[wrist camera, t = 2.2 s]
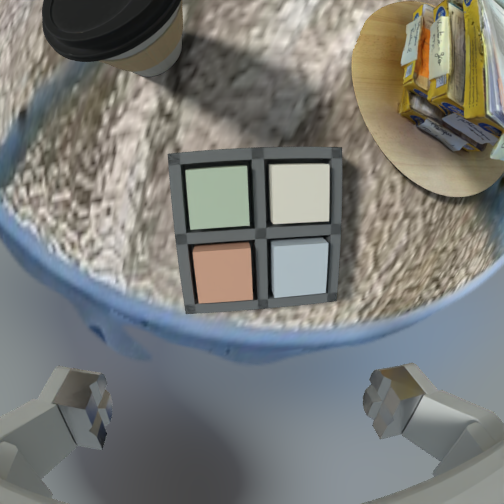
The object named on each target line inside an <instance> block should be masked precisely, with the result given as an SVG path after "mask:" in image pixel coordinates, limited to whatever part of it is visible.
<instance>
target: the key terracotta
mask: <svg viewBox="0 0 504 504" xmlns="http://www.w3.org/2000/svg"><path fill="white" fill-rule="evenodd" d="M193 260H194V268H195V277H196V285H197V293H198V301H199V303H215V302H230V301H243V300H253V289H252V267H251V248H250V244H249V241H247V242H232V243H218V244H204V245H194V249H193Z"/></svg>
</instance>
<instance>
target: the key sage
mask: <svg viewBox="0 0 504 504" xmlns="http://www.w3.org/2000/svg"><path fill="white" fill-rule="evenodd" d="M185 171H186V185H187V198H188V209H189V220H190V230H194V229H207V228H221V227H236V226H250V222H249V199H248V177H247V166H246V165H235V166H219V167H205V168H193V169H187V170H185Z"/></svg>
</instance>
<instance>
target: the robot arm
mask: <svg viewBox="0 0 504 504" xmlns="http://www.w3.org/2000/svg"><path fill="white" fill-rule="evenodd" d="M369 380H370V382H371V385H370V386H369V387H368V388H367V389H366V390H365V393H364V395H363V407H364V411H365V413H366V415H367V416H368V417H370V418H372V419H373V420H374V421H373V427H374V429H375V431H376V433H377V434H378V436H379V438H380V439H384V438H388V437H392V436H396V435H400V434H402V436H403V437H405V438H407V439H408V440H409V441H411V442H412V443H414V444H415V445H417V446H418V447H420V448H421V449H422V450H424V451H426V452H427V453H428V454H430V455H432V456H433V457H435V458H436V459H438V460H439V461H441V462H440V463H439V464H438V466H437V467H436V468H435V470H434V471H433V475H434V477H433V478H431V479H429V480H427V481H424V482H422V483H419V484H417V485H414V486H412V487H410V488H407V489H405V490H402V491H399V492H396V493H393V494H390V495H387V496H384V497H381V498H378V499H375V500H372V501H369V502H365V503H362V504H504V423H503V422H502V421H501V420H500V419H499V417H498V416H497V415H496V414H495V413H494V412H492V411H490V410H488V409H485V408H483V407H480V406H478V405H476V404H473V403H471V402H468V401H466V400H464V399H462V398H459V397H457V396H455V395H452V394H450V393H447V392H445V391H443V390H440V391H438V390H437V389H436V387H435V386H434V385H433V384H432V382H431V381H430V380H429V379H428V378H427V377H426V375H425V374H424V373H423V372H422V371H421V370H420V368H419V367H418V366H417V365H416V364H414V363H409V364H404V365H400V366H395V367H389V368H383V369H378V370H374V371H373V373H372V374H371V377H370V379H369ZM106 385H107V381H106V378H105V375H104V374H102V373H97V372H92V371H86V370H80V369H75V368H73V369H72V368H68V367H63V366H58V367H56V368H55V369H54V371H53V373H52V375H51V376H50V378H49V380H48V381H47V383H46V385H45V387H44V388H43V390H42V392H41V394H40V396H39V397H38V399H37V400H35V399H33V400H31V401H29V402H27V403H25V404H23V405H21V406H20V407H18V408H16V409H14V410H12V411H11V412H9V413H7V414H5V415H3V416H1V417H0V504H68V503H65V502H61V501H58V500H55V499H52V495H53V494H52V492H51V491H50V489H49V488H48V487H47V486H46V485H45V483H44V482H43V481H42V480H41V479H42V478H43V477H44V476H45V475H46V474H48V473H49V472H50V471H51V470H52V469H53V468H54V467H55V466H56V465H58V464H59V463H60V462H61V461H62V460H63V459H64V458H65V457H67V455H69V454H70V453H71V452H72V451H73V450H74V449H75V448H77V446H82V447H87V448H93V449H99V450H103V447H104V443H105V440H106V436H107V432H106V429H105V426H107V425H108V424H109V423H110V422H111V418H112V409H113V406H112V399H111V395H110V393H109V392H107V391H106V390H105V388H106ZM76 445H77V446H76Z"/></svg>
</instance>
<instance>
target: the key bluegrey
mask: <svg viewBox="0 0 504 504" xmlns="http://www.w3.org/2000/svg"><path fill="white" fill-rule="evenodd" d="M270 252H271V289H272V292H273V295H274V298H279V297H290V296H300V295H310V294H320V293H326V282H327V264H328V242H327V241H326V240H325V239H324V238H323V237H309V238H293V239H277V240H270Z"/></svg>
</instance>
